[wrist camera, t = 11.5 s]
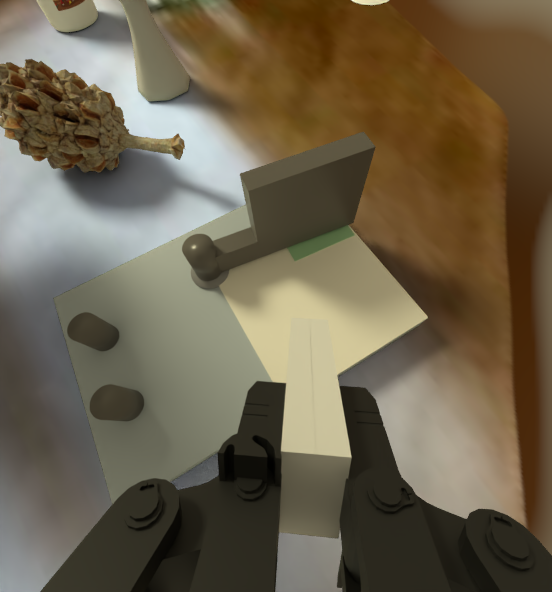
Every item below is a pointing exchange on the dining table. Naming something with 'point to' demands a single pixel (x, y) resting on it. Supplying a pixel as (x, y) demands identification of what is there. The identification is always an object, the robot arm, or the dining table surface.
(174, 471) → the board
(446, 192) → the dining table surface
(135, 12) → the flask
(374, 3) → the wineglass
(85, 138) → the pine cone
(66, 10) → the milk bottle
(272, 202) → the gate
